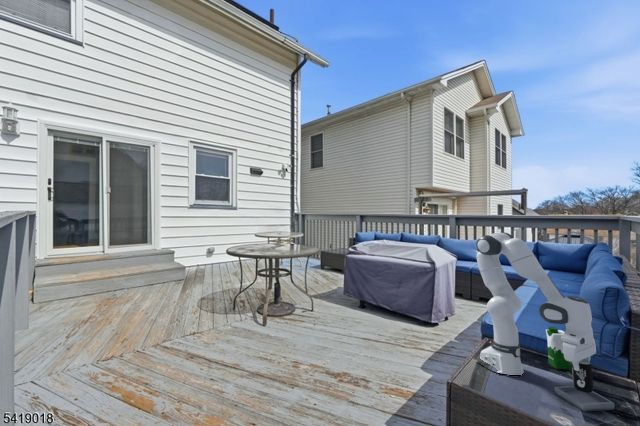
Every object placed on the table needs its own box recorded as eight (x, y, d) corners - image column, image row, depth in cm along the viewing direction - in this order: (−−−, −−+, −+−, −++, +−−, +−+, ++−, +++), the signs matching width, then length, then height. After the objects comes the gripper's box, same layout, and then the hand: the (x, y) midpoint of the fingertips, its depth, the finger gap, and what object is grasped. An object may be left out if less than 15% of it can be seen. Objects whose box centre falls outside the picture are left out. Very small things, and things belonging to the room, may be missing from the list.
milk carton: (545, 362, 164) (543, 325, 165) (563, 362, 163) (561, 325, 164) (555, 369, 156) (553, 330, 157) (574, 370, 154) (572, 331, 155)
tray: (583, 411, 121) (582, 404, 121) (554, 392, 134) (554, 386, 134) (614, 409, 122) (614, 403, 122) (583, 391, 135) (583, 385, 135)
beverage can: (597, 394, 124) (595, 364, 125) (579, 392, 125) (577, 363, 126) (587, 386, 130) (585, 357, 131) (569, 384, 132) (567, 356, 133)
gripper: (582, 329, 137) (584, 359, 136) (559, 337, 127) (561, 370, 127) (599, 333, 131) (602, 365, 130) (577, 342, 122) (579, 376, 121)
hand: (581, 368), depth 128 cm, fingers closed on beverage can, 6 cm apart
